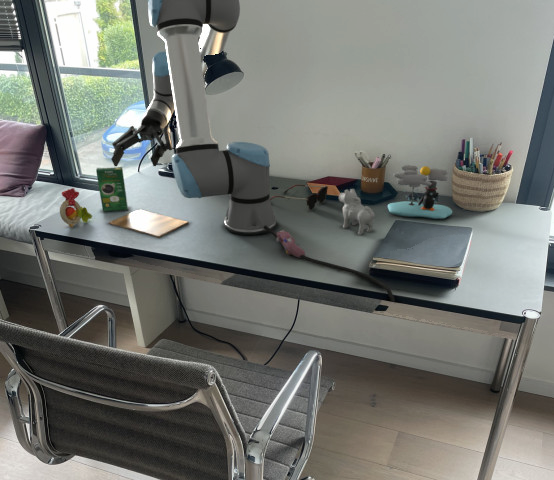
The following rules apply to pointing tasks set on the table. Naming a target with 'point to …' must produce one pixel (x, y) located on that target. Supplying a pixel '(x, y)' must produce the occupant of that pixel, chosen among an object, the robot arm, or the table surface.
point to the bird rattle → (70, 213)
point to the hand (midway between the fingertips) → (133, 162)
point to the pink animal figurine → (289, 244)
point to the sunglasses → (311, 196)
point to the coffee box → (112, 189)
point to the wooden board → (149, 223)
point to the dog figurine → (356, 211)
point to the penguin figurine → (428, 205)
